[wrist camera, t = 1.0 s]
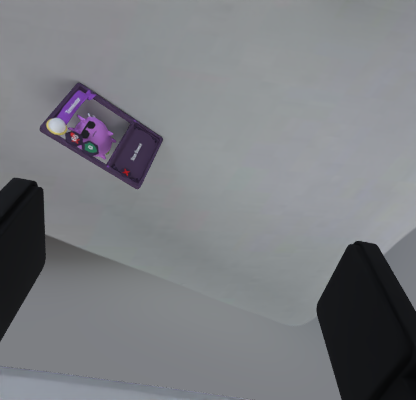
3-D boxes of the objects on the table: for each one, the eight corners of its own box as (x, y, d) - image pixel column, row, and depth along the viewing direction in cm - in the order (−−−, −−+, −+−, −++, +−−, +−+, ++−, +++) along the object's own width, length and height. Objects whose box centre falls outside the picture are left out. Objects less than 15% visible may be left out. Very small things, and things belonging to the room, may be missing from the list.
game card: (143, 183, 31) (41, 121, 28) (119, 211, 34) (27, 158, 31) (167, 134, 35) (80, 75, 32) (143, 163, 39) (64, 112, 36)
